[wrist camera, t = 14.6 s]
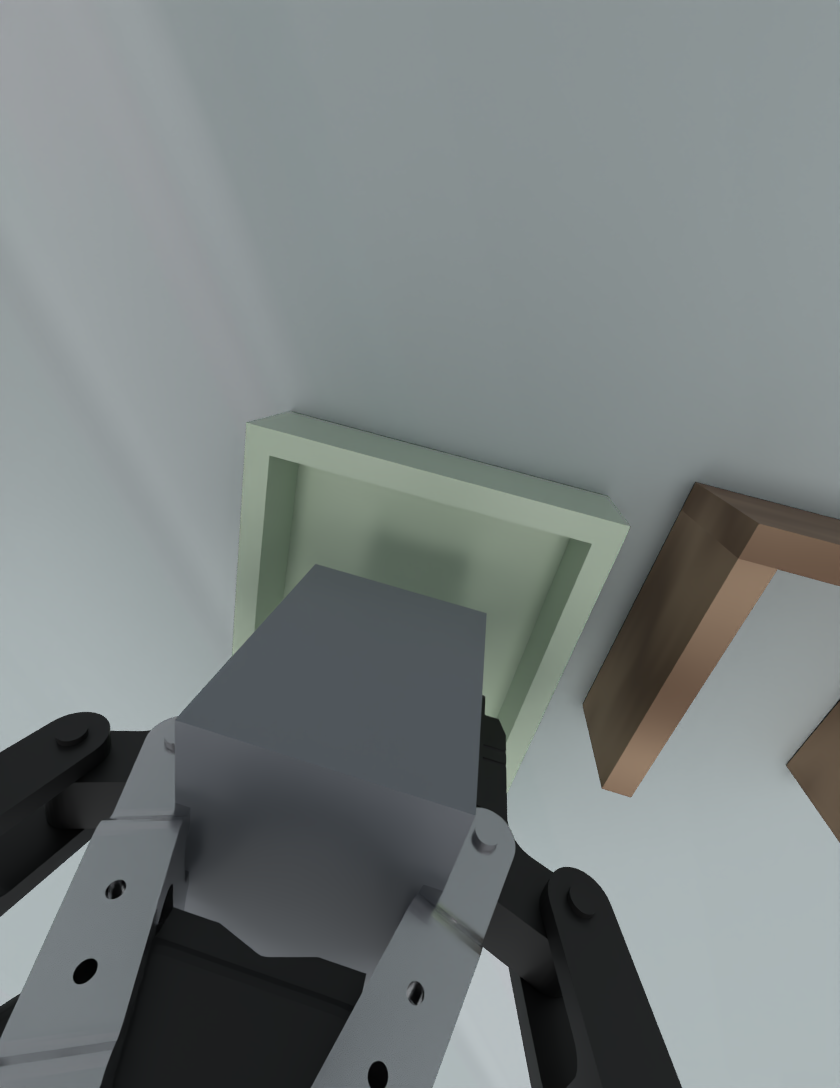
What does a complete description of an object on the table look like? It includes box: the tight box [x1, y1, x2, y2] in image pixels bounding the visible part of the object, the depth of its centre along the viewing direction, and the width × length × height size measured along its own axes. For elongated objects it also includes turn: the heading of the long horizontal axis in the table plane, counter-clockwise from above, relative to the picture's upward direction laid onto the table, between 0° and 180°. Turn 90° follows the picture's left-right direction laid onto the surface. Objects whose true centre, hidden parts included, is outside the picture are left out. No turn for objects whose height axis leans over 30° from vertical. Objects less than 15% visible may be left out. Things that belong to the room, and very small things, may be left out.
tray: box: [232, 411, 631, 792], centre depth 18 cm, size 18×12×3 cm, turn 167°
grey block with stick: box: [175, 564, 487, 990], centre depth 12 cm, size 12×5×6 cm, turn 167°
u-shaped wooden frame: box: [583, 482, 840, 842], centre depth 15 cm, size 10×10×4 cm
